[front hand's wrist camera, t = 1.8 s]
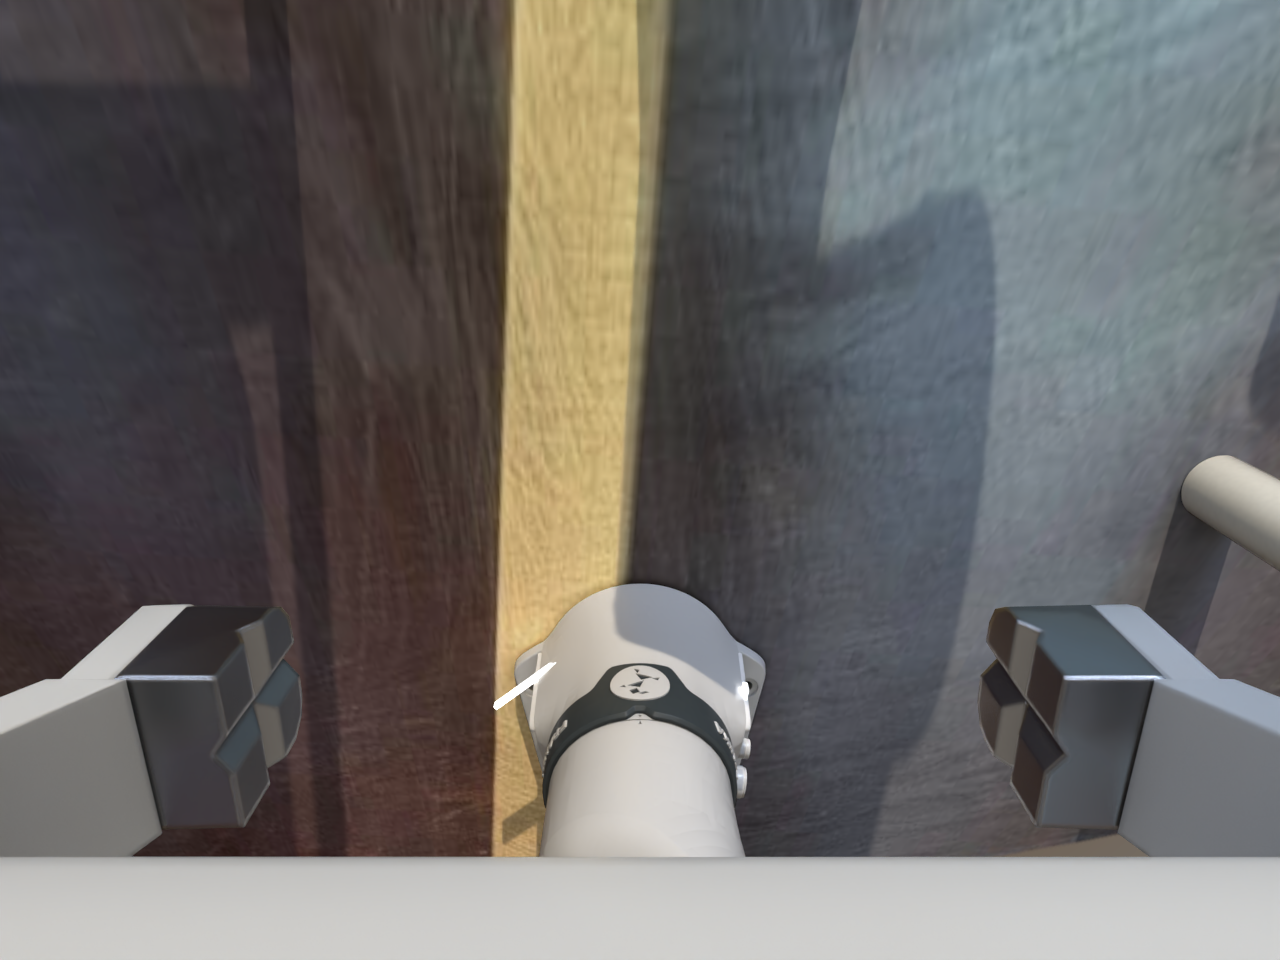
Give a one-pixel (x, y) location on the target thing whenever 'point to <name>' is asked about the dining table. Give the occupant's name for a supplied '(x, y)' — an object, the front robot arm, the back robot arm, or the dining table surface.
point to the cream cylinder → (1237, 504)
